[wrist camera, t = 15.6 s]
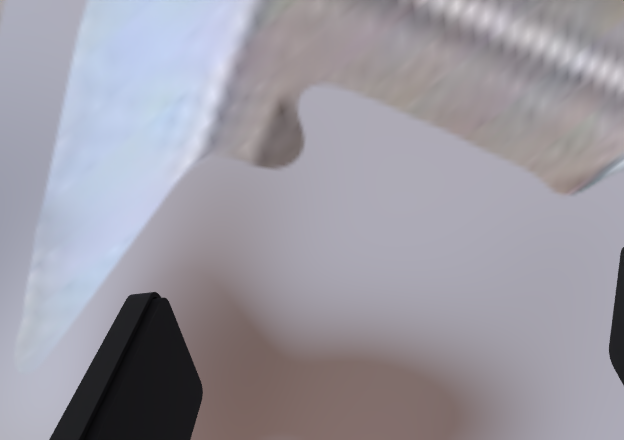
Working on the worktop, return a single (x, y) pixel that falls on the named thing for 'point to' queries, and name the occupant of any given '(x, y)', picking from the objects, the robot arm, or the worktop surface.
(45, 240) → the worktop surface
